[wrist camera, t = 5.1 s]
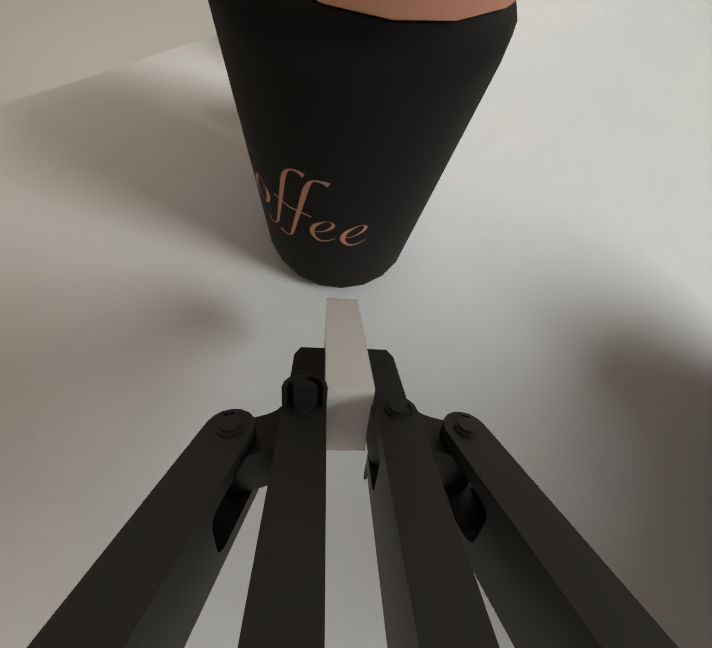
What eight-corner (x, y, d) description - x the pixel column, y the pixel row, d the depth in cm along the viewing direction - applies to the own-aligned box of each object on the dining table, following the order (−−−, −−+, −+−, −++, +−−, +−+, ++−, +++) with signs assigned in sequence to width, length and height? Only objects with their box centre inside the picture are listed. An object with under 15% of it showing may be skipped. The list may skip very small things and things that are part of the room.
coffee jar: (245, 218, 24) (67, -256, 7) (348, 161, 27) (402, -274, 10) (325, 320, 23) (352, 33, 5) (426, 248, 25) (650, -88, 8)
